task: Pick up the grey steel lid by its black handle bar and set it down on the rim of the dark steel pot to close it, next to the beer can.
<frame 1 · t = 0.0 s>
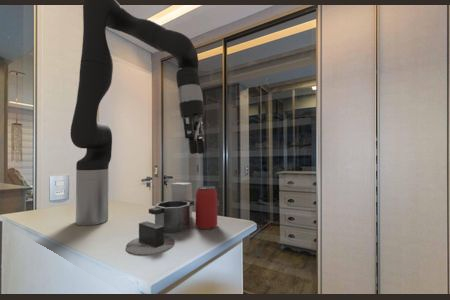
hand: (198, 153, 70), 22 cm above the cabinet, tool pointing down, fingers open, 8 cm apart
lid: (151, 246, 55), on the cabinet
pot: (173, 227, 69), on the cabinet
skincare box: (181, 217, 79), on the cabinet
beer can: (206, 227, 69), on the cabinet
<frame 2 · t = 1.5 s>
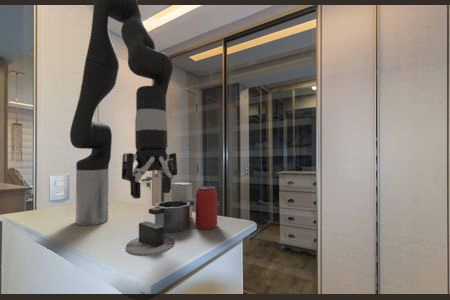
hand: (152, 195, 56), 12 cm above the cabinet, tool pointing down, fingers open, 8 cm apart
nothing on the cabinet moved.
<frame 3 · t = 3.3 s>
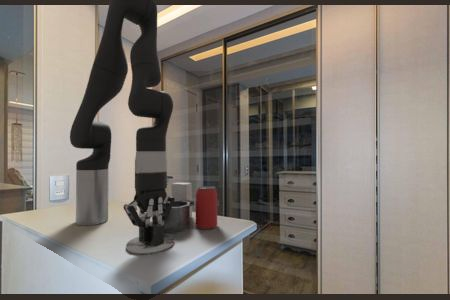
hand: (150, 240, 56), 1 cm above the cabinet, tool pointing down, fingers closed on lid
lid: (151, 245, 56), on the cabinet, touching gripper
everything else where it was.
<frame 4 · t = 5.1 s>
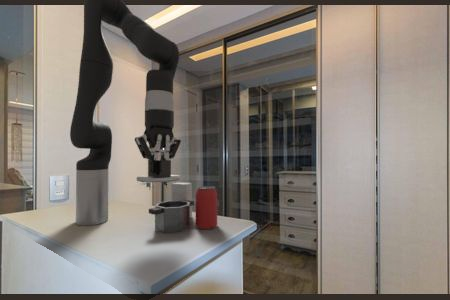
hand: (158, 174, 61), 17 cm above the cabinet, tool pointing down, fingers closed on lid
lid: (159, 179, 61), point 15 cm above the cabinet, touching gripper
everything else where it was.
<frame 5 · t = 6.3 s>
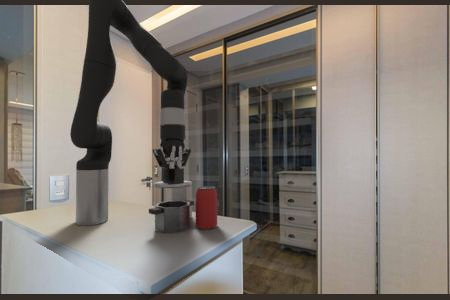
hand: (173, 180, 69), 14 cm above the cabinet, tool pointing down, fingers closed on lid
lid: (173, 185, 69), point 13 cm above the cabinet, touching gripper
everything else where it was.
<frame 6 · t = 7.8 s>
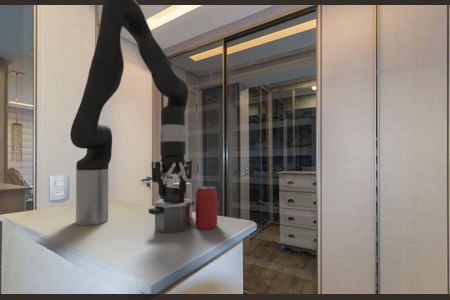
hand: (173, 194, 69), 10 cm above the cabinet, tool pointing down, fingers open, 7 cm apart
lid: (173, 204, 69), point 7 cm above the cabinet, touching pot
everything else where it was.
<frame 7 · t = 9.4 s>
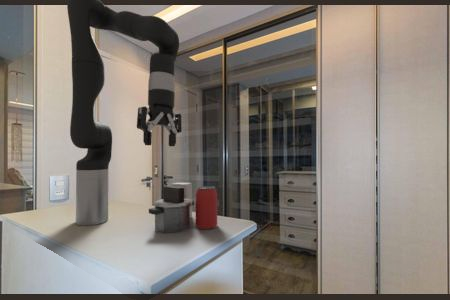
hand: (160, 145, 67), 25 cm above the cabinet, tool pointing down, fingers open, 8 cm apart
nothing on the cabinet moved.
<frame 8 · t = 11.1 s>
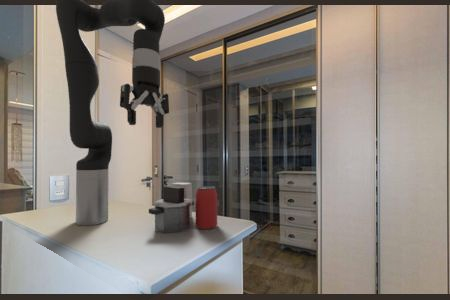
hand: (146, 126, 64), 30 cm above the cabinet, tool pointing down, fingers open, 8 cm apart
nothing on the cabinet moved.
at the end: lid 0.2 cm off-centre on the pot, point 7.0 cm above the pot's base; lid tilted 0°; the gripper is holding nothing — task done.
